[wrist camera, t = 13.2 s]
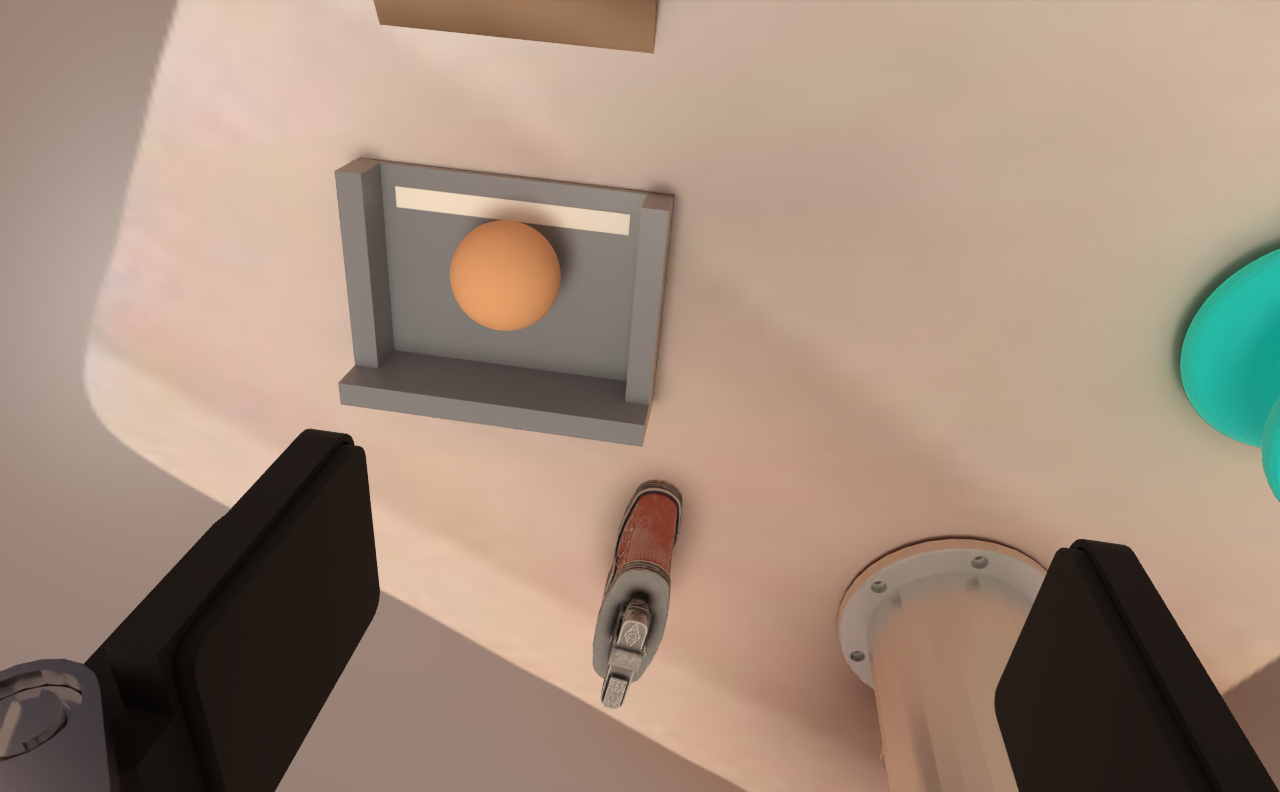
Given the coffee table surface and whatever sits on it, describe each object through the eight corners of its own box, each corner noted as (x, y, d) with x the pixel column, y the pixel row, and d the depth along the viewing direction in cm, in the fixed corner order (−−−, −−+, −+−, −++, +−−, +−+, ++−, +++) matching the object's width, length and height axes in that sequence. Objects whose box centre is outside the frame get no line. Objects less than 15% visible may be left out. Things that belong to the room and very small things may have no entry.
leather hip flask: (634, 473, 45) (604, 600, 37) (693, 488, 45) (677, 619, 37) (605, 577, 49) (572, 713, 41) (659, 591, 49) (637, 731, 41)
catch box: (652, 401, 43) (642, 446, 39) (377, 363, 44) (340, 404, 40) (674, 195, 37) (664, 224, 33) (358, 157, 38) (314, 182, 34)
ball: (567, 203, 37) (553, 281, 34) (566, 283, 41) (553, 358, 38) (457, 191, 37) (432, 267, 34) (466, 272, 41) (445, 347, 37)
